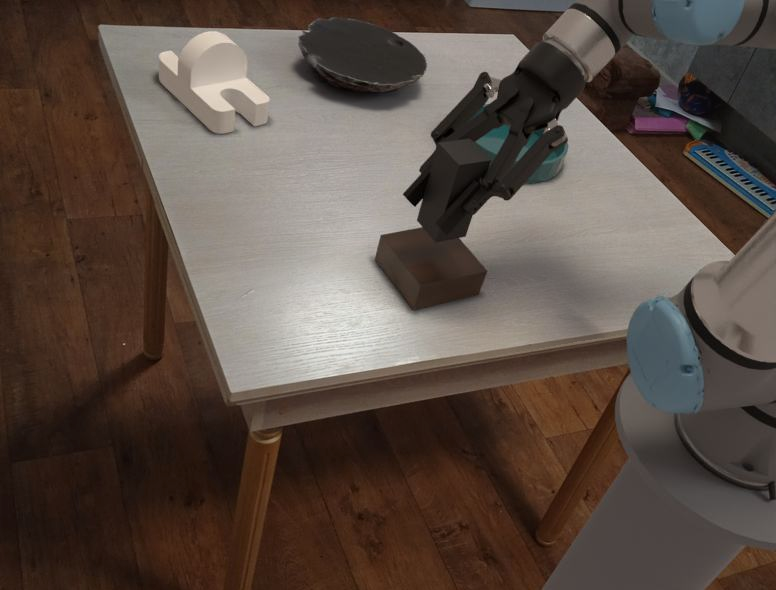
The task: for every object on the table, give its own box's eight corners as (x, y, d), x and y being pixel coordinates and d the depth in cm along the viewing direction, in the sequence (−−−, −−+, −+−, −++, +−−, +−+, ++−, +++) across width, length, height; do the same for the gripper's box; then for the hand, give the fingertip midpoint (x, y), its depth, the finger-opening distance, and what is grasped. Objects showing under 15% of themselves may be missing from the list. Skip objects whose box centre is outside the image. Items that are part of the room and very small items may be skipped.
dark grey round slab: (401, 48, 151) (407, 21, 147) (437, 112, 137) (445, 84, 133) (282, 40, 144) (286, 12, 140) (308, 107, 130) (312, 77, 126)
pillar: (465, 236, 101) (491, 160, 93) (435, 243, 99) (459, 164, 91) (446, 214, 103) (470, 138, 95) (416, 220, 101) (438, 142, 93)
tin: (581, 175, 132) (589, 156, 130) (496, 189, 124) (503, 169, 122) (520, 118, 142) (526, 99, 139) (437, 128, 133) (442, 108, 131)
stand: (478, 294, 106) (487, 270, 103) (413, 310, 101) (420, 285, 98) (438, 246, 111) (445, 222, 108) (374, 259, 106) (380, 234, 104)
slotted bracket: (153, 75, 127) (153, 13, 120) (207, 65, 133) (210, 5, 126) (215, 135, 119) (219, 72, 112) (271, 122, 124) (278, 61, 118)
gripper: (628, 119, 93) (486, 271, 96) (516, 43, 102) (388, 185, 104) (618, 84, 87) (466, 248, 89) (500, 6, 95) (363, 158, 97)
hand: (425, 214), depth 96 cm, fingers closed on pillar, 5 cm apart
